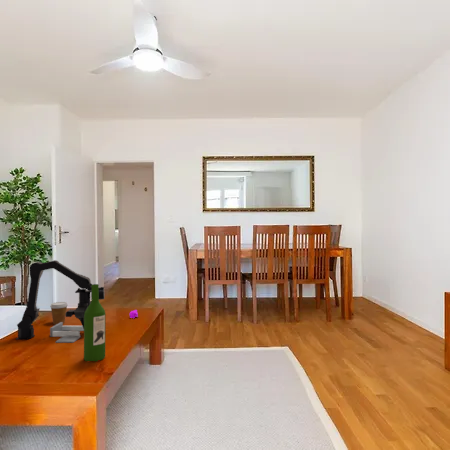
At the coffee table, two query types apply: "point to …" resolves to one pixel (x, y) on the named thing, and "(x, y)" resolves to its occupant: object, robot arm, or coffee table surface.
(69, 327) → the channel
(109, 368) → the coffee table surface
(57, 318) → the disposable coffee cup
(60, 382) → the coffee table surface
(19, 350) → the coffee table surface
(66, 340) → the coaster
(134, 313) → the crystal
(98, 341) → the wine bottle
